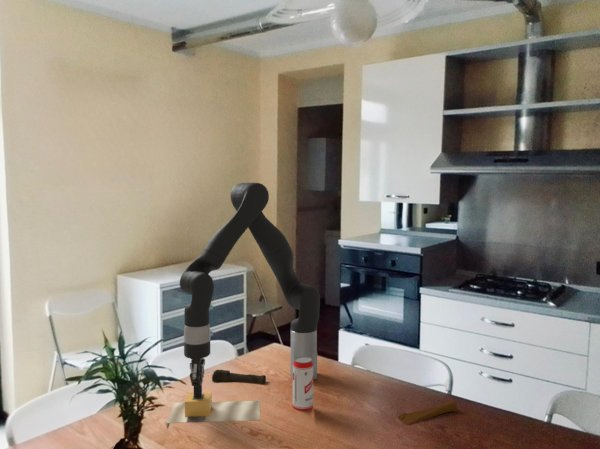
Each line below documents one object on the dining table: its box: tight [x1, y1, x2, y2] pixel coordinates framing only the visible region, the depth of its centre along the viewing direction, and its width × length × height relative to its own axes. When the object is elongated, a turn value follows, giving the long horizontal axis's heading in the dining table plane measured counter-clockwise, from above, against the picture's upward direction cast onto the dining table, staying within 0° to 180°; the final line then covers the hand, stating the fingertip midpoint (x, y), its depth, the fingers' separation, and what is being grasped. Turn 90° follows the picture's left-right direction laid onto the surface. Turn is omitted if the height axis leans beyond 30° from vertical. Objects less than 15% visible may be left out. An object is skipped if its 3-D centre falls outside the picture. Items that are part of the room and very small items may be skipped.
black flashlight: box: [211, 369, 267, 386], centre depth 162 cm, size 19×4×5 cm, turn 76°
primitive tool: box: [396, 399, 458, 426], centre depth 141 cm, size 19×6×4 cm, turn 114°
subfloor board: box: [166, 400, 261, 429], centre depth 140 cm, size 26×12×2 cm, turn 94°
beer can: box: [292, 356, 314, 412], centre depth 143 cm, size 6×6×16 cm
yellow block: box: [184, 392, 213, 417], centre depth 139 cm, size 7×6×5 cm
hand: (197, 396), depth 139 cm, fingers closed
